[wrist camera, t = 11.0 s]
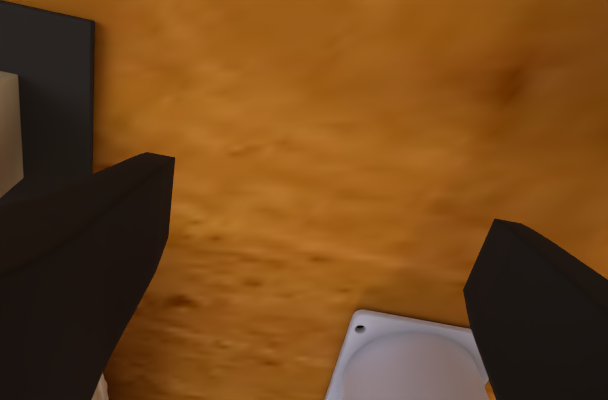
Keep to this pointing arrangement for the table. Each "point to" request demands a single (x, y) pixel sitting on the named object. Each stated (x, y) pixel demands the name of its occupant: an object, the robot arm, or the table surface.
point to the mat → (50, 94)
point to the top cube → (10, 133)
